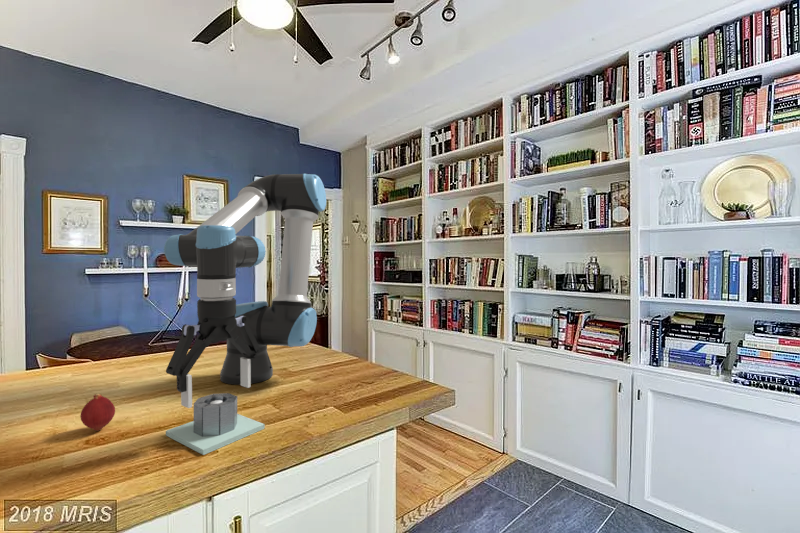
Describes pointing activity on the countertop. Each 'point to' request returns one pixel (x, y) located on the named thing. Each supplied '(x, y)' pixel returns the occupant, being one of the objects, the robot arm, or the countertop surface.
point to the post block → (211, 443)
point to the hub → (215, 415)
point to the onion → (97, 412)
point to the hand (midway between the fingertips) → (218, 395)
